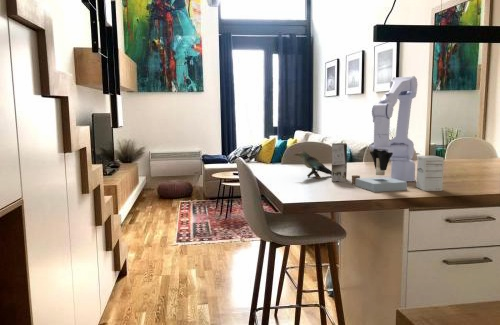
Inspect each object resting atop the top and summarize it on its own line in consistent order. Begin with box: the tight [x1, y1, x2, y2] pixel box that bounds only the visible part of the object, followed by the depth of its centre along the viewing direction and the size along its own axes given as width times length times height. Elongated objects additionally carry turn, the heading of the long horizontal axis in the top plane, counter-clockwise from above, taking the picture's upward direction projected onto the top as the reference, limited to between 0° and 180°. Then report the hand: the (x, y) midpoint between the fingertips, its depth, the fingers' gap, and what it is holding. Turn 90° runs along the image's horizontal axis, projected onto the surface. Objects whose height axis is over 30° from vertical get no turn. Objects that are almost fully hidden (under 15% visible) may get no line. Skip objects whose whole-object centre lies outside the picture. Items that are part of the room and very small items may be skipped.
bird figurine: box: [294, 150, 332, 180], centre depth 192 cm, size 13×10×20 cm
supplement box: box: [415, 155, 445, 192], centre depth 160 cm, size 7×7×13 cm
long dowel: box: [375, 158, 386, 176], centre depth 163 cm, size 3×3×6 cm
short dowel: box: [351, 174, 361, 185], centre depth 173 cm, size 3×3×4 cm
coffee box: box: [331, 142, 348, 183], centre depth 183 cm, size 9×6×16 cm
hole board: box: [354, 176, 408, 193], centre depth 164 cm, size 14×14×3 cm
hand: (380, 169), depth 164 cm, fingers closed on long dowel, 3 cm apart
